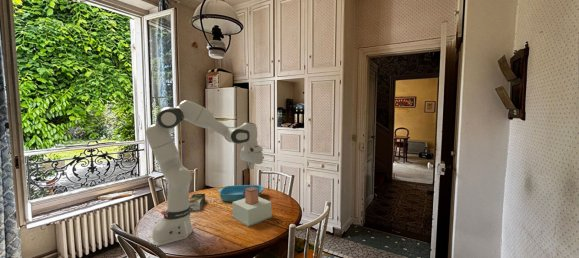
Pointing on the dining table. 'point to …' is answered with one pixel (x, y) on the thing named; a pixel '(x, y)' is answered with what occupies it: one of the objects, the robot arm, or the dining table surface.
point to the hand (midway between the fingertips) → (251, 168)
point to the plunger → (251, 195)
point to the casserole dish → (236, 192)
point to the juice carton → (196, 201)
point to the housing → (251, 211)
